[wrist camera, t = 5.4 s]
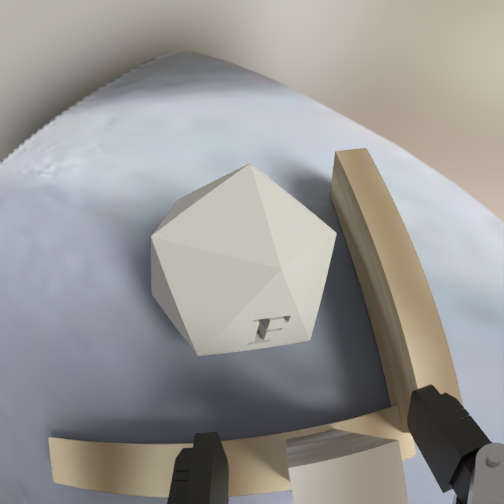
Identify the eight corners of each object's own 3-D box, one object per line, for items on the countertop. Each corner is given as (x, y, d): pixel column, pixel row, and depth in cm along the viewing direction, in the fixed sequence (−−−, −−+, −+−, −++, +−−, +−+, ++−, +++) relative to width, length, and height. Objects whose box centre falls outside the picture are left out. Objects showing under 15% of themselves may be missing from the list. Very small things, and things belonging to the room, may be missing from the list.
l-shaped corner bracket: (63, 481, 13) (-66, 483, 4) (67, 244, 21) (-12, 155, 13) (432, 444, 13) (563, 444, 4) (356, 190, 21) (381, 61, 12)
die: (154, 337, 18) (167, 406, 9) (147, 194, 18) (154, 137, 9) (279, 325, 21) (373, 366, 12) (274, 195, 21) (367, 155, 12)
